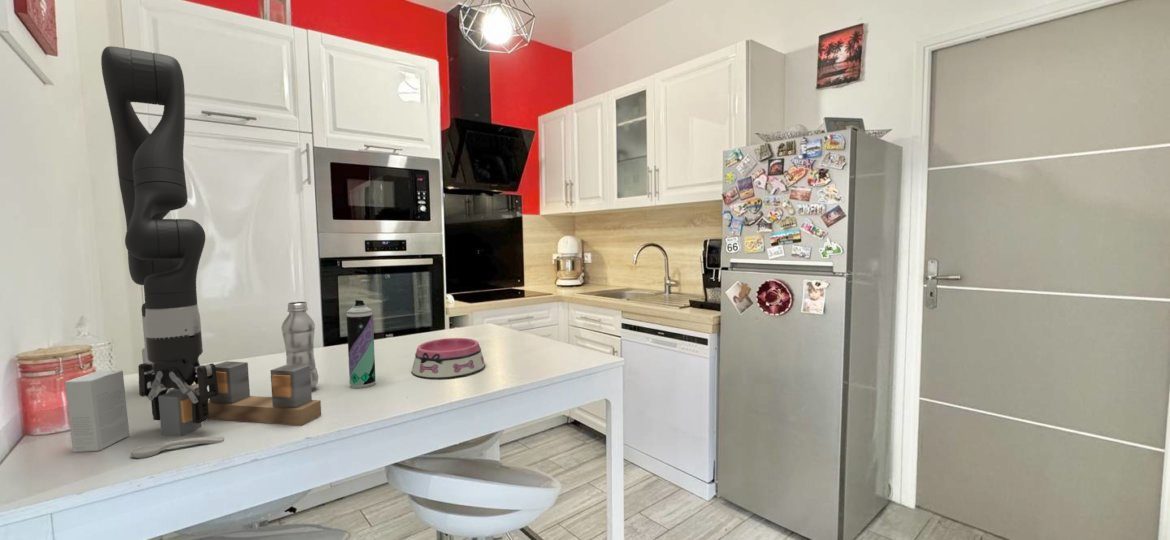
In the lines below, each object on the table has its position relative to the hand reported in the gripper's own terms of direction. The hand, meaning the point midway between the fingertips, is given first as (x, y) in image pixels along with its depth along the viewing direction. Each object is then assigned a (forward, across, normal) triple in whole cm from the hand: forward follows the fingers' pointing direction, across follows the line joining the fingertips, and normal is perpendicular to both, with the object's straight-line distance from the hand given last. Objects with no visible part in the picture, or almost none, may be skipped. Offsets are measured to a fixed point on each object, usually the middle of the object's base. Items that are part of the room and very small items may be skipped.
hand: (180, 420), depth 87 cm
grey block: (+2, 0, 0) cm, 2 cm away
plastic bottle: (+2, +5, +23) cm, 24 cm away
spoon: (+3, +7, -6) cm, 9 cm away
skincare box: (+2, -8, -7) cm, 11 cm away
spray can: (+2, +16, +29) cm, 33 cm away
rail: (+2, +9, +8) cm, 12 cm away
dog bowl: (+2, +30, +45) cm, 54 cm away
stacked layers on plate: (+2, -10, +10) cm, 15 cm away
